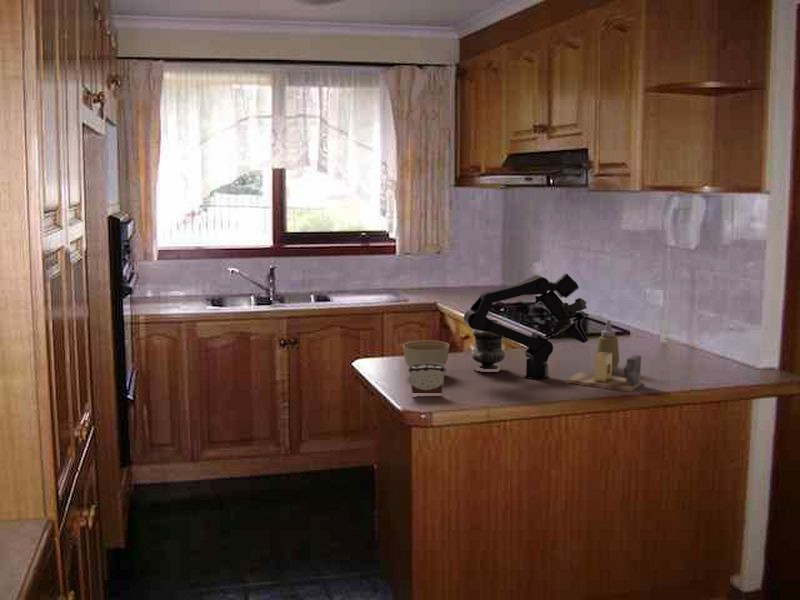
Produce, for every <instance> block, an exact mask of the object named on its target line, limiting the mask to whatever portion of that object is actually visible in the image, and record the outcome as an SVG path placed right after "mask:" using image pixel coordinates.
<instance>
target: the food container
mask: <svg viewBox="0 0 800 600" xmlns="http://www.w3.org/2000/svg"><path fill="white" fill-rule="evenodd" d="M407 373H409V377H410V378H409V379H410V388H411V394H412V393H442V394H443V391H444V380H445V373H448V371H447V368H446V364H445V365H443V364H440V363H433V362H421V363H414V364H411V365H410V366H409V367H408V369H407Z"/></svg>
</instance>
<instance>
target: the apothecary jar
mask: <svg viewBox="0 0 800 600" xmlns="http://www.w3.org/2000/svg"><path fill="white" fill-rule="evenodd" d="M489 319H490V320H492V321H494V322H496V323H499V324H501V325H502V323H501V320H499V319H496V318H489ZM471 334H472V335H473V337H474V348H473V349H472V350H471V352H470V356H471V358H472V359H473V360H474V361H475V362H478V363H480V364H479V365H478V366H477V367H480V368H483V369H497V368H498V367H499V366H498V365H495V364H497V363H500V362H502V361H504V359H505V358H506V353H505V352H504V350H503V349H502V344H503V343H502V340H503V339H502V338H503V337H502V336H499V335H497V334H494V333H492V332H488V331H480V330H476V329H472V328H471Z"/></svg>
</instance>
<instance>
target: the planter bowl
mask: <svg viewBox="0 0 800 600" xmlns="http://www.w3.org/2000/svg"><path fill="white" fill-rule="evenodd" d="M402 349H403V355H404V359H405V363H406V365H407V367H408V368H409V366H410V365H411V364H414V363H421V362H433V363H440V364H443V365H445V366H446V364H447V361H448V358H449V353H450V352H449V351H450V344H449V343H448V342H446V341H445V342H443V341H440V340H416V341H410V342H406V343H403V345H402Z"/></svg>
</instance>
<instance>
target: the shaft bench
mask: <svg viewBox="0 0 800 600" xmlns="http://www.w3.org/2000/svg"><path fill="white" fill-rule="evenodd" d="M641 366H642V355H640V354H639V355H637V354H633V355H631V356H629V357H628V358H626V363H625V365H624V366H622V365H621V366H619V365H618V366H613V368H612V374H617V375H618V374H620V375H624V377H619V376H612V378H611V379H609V380H608V381H606V382H603V381H595V380H594V373H587V372H585V373H584V372H577V373H576V374H574V375H572V376H570V377H569V378H567V379H566V380H565V384H568V383H573V384H572V385H576V384H579V385H578V386H583V385H587V386H586V387H591V386H593V388H599V387H601V389H606V388H608V389H607V390H614V389H615V390H616V391H623V392H633V391H634V390H636V389H637V388H638V387H640V386H642V385H643V379H641V370H642V369H641ZM635 388H636V389H635Z"/></svg>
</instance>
